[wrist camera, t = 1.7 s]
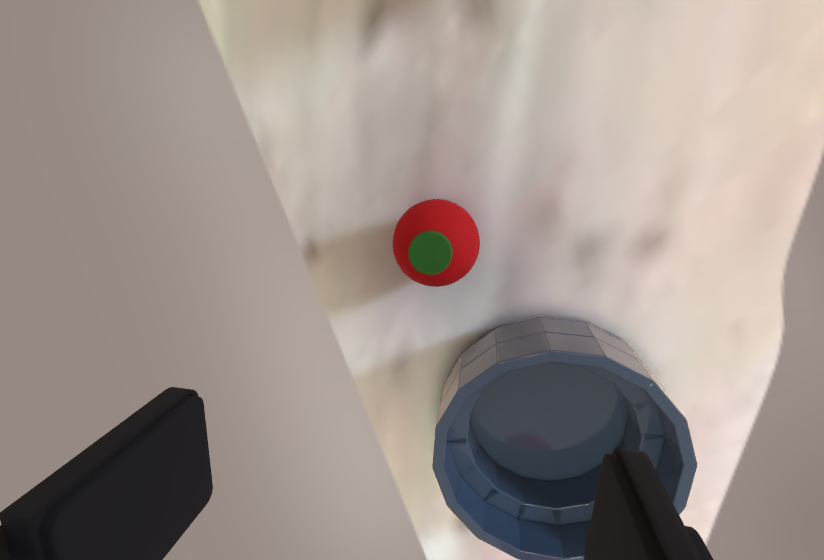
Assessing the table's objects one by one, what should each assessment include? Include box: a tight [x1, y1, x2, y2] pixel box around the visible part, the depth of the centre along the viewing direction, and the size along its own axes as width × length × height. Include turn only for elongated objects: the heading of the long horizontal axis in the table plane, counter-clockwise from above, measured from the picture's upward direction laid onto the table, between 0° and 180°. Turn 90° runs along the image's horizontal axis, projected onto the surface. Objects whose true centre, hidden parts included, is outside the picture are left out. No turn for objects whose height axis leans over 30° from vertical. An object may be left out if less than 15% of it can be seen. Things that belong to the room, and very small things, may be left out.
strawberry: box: [393, 199, 480, 287], centre depth 22 cm, size 4×4×5 cm
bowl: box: [433, 317, 697, 560], centre depth 24 cm, size 12×12×5 cm
